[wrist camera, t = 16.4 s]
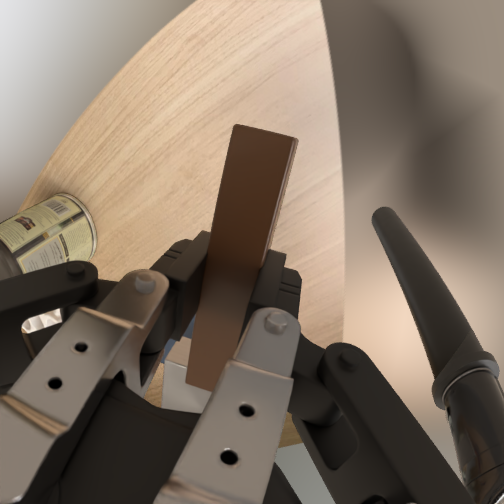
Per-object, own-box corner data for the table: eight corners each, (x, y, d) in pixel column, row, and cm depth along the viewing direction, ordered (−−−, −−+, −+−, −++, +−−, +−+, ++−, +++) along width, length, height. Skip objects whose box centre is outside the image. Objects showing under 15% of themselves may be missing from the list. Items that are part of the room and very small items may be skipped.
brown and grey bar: (218, 120, 11) (190, 115, 8) (333, 148, 11) (342, 151, 8) (170, 424, 18) (153, 458, 15) (234, 445, 18) (224, 481, 15)
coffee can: (53, 261, 40) (-11, 312, 27) (37, 194, 35) (-39, 233, 23) (105, 267, 38) (36, 331, 25) (90, 190, 34) (3, 236, 21)
